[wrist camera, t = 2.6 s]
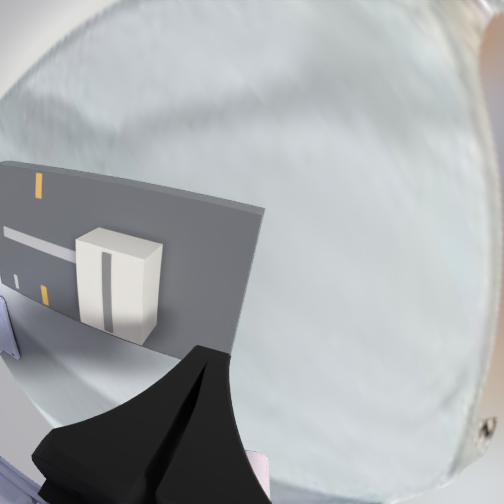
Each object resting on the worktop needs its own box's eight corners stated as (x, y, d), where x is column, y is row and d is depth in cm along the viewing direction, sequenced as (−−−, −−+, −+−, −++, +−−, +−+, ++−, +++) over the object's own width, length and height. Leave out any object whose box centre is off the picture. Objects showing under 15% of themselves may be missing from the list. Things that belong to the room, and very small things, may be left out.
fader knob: (99, 304, 17) (79, 322, 14) (98, 227, 15) (74, 239, 13) (156, 324, 16) (140, 346, 14) (162, 244, 15) (143, 260, 13)
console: (12, 276, 20) (1, 283, 18) (7, 160, 16) (-7, 163, 15) (230, 357, 19) (225, 372, 17) (264, 208, 15) (262, 215, 14)
